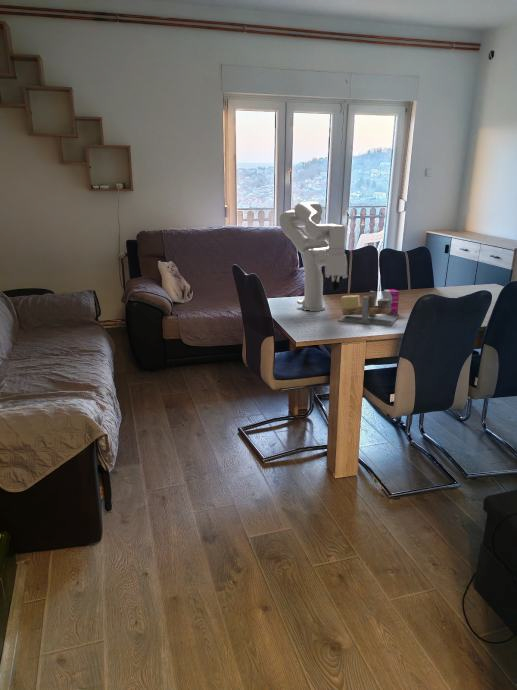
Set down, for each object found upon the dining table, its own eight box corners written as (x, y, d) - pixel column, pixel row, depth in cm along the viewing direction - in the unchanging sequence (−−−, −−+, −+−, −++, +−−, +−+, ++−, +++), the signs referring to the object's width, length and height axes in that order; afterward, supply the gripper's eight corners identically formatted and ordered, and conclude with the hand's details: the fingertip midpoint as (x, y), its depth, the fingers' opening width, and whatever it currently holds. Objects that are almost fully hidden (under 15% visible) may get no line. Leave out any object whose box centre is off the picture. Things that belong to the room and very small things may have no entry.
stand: (337, 321, 245) (338, 295, 241) (347, 313, 260) (348, 289, 256) (390, 326, 235) (392, 299, 231) (397, 317, 250) (399, 292, 246)
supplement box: (387, 314, 256) (388, 291, 253) (381, 311, 262) (383, 289, 259) (398, 313, 258) (399, 291, 255) (392, 311, 263) (393, 289, 260)
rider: (342, 311, 249) (341, 297, 247) (344, 309, 253) (343, 295, 251) (358, 311, 246) (357, 296, 244) (360, 309, 249) (359, 295, 247)
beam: (342, 315, 248) (341, 299, 246) (346, 312, 254) (345, 297, 252) (388, 313, 239) (387, 297, 237) (391, 310, 244) (390, 294, 242)
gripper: (319, 252, 244) (318, 290, 249) (350, 252, 238) (349, 291, 243) (323, 250, 250) (323, 287, 255) (354, 251, 244) (353, 289, 249)
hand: (336, 289), depth 249 cm, fingers closed
